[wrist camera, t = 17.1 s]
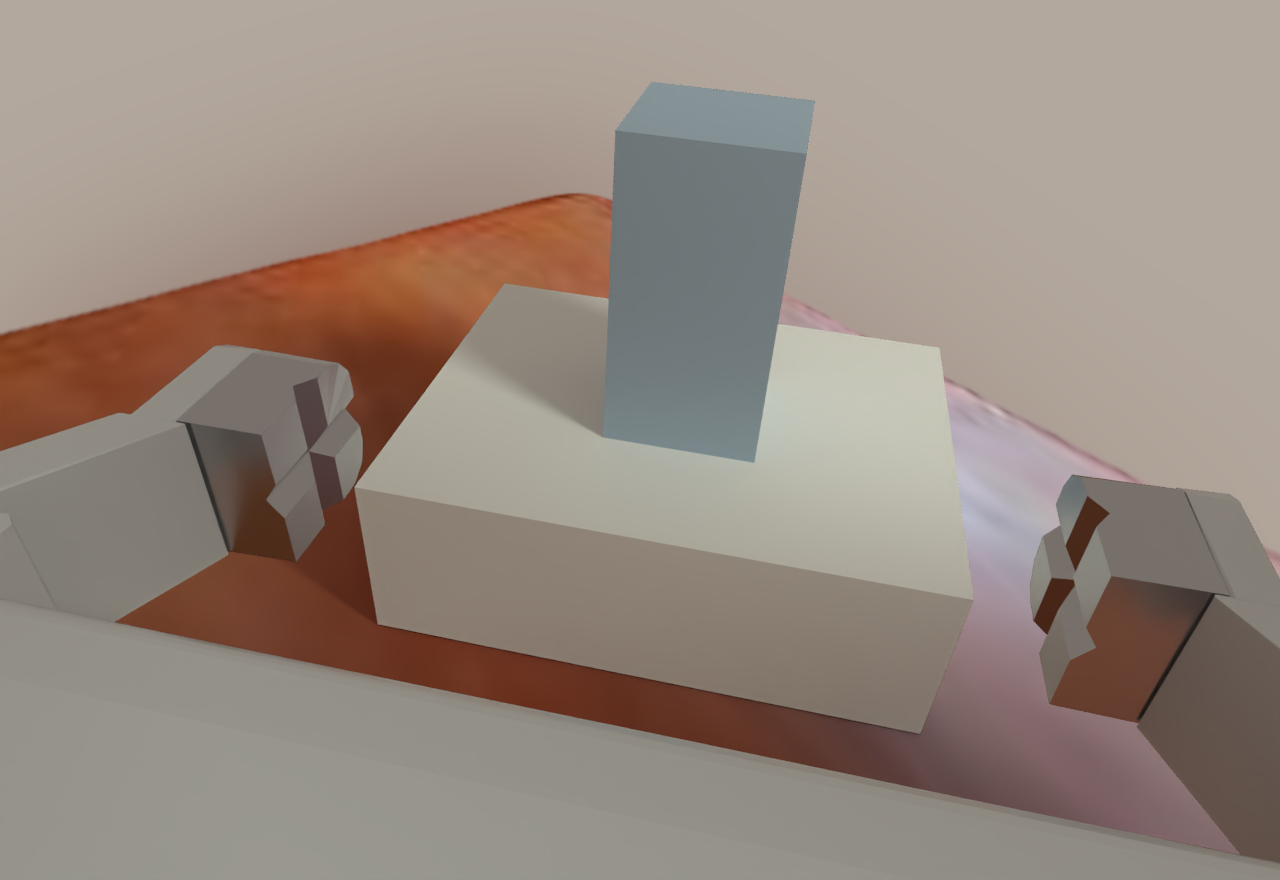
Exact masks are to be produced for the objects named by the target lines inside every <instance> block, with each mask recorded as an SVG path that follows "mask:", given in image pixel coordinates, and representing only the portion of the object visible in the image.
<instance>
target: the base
mask: <svg viewBox="0 0 1280 880" xmlns="http://www.w3.org/2000/svg"><path fill="white" fill-rule="evenodd" d="M608 303H609V299H606V298H599V297H592V296H585V295H578V294H572V293H565V292H558V291H551V290H545V289H538V288H531V287H524V286H517V285H511V284H504V285H503V287H502V288H501V289H500V291H499V292H498V293H497V295H496V296H495V297H494V299H493V300H492V301H491V303H490V304H489V306H488V307H487V308H486V310H485V311H484V312H483V314H482V315H481V316H480V318H479V319H478V320H477V322H476V323H475V324H474V326H473V327H472V329H471V330H470V331H469V333H468V334H467V335H466V337H465V338H464V339H463V341H462V342H461V343H460V345H459V346H458V347H457V349H456V350H455V352H454V353H453V354H452V356H451V357H450V358H449V360H448V361H447V362H446V364H445V365H444V366H443V368H442V369H441V370H440V372H439V373H438V375H437V376H436V377H435V379H434V380H433V381H432V383H431V384H430V385H429V387H428V388H427V389H426V391H425V392H424V393H423V395H422V396H421V398H420V399H419V400H418V402H417V403H416V404H415V406H414V407H413V408H412V410H411V411H410V412H409V414H408V415H407V416H406V418H405V419H404V421H403V422H402V423H401V425H400V426H399V427H398V429H397V430H396V431H395V433H394V434H393V435H392V437H391V438H390V439H389V441H388V442H387V444H386V445H385V446H384V448H383V449H382V450H381V452H380V453H379V454H378V456H377V457H376V458H375V460H374V461H373V462H372V464H371V465H370V466H369V468H368V469H367V471H366V472H365V473H364V475H363V476H362V477H361V479H360V480H359V481H358V483H357V484H356V485H355V487H354V489H355V495H356V500H357V506H358V512H359V518H360V524H361V530H362V535H363V541H364V547H365V553H366V559H367V564H368V570H369V576H370V582H371V588H372V594H373V599H374V605H375V611H376V617H377V623H378V624H379V625H384V626H389V627H394V628H399V629H404V630H409V631H414V632H419V633H424V634H429V635H433V636H438V637H443V638H448V639H453V640H458V641H463V642H468V643H473V644H478V645H483V646H488V647H493V648H498V649H503V650H508V651H513V652H517V653H522V654H527V655H532V656H537V657H542V658H547V659H552V660H557V661H562V662H567V663H572V664H577V665H582V666H587V667H592V668H597V669H601V670H606V671H611V672H616V673H621V674H626V675H631V676H636V677H641V678H646V679H651V680H656V681H661V682H666V683H671V684H676V685H681V686H685V687H690V688H695V689H700V690H705V691H710V692H715V693H720V694H725V695H730V696H735V697H740V698H745V699H750V700H755V701H760V702H765V703H770V704H774V705H779V706H784V707H789V708H794V709H799V710H804V711H809V712H814V713H819V714H824V715H829V716H834V717H839V718H844V719H849V720H854V721H858V722H863V723H868V724H873V725H878V726H883V727H888V728H893V729H898V730H903V731H908V732H913V733H918V734H920V733H921V731H922V728H923V726H924V723H925V721H926V718H927V716H928V713H929V711H930V708H931V706H932V703H933V701H934V698H935V696H936V693H937V691H938V688H939V686H940V683H941V681H942V678H943V676H944V673H945V671H946V668H947V666H948V663H949V661H950V658H951V656H952V653H953V651H954V648H955V646H956V643H957V641H958V638H959V636H960V633H961V631H962V628H963V626H964V623H965V621H966V618H967V616H968V613H969V611H970V608H971V606H972V603H973V601H974V597H973V590H972V583H971V575H970V568H969V561H968V553H967V546H966V539H965V531H964V524H963V517H962V509H961V502H960V495H959V487H958V480H957V473H956V466H955V458H954V451H953V444H952V436H951V429H950V422H949V414H948V407H947V400H946V392H945V385H944V378H943V370H942V363H941V357H940V348H937V347H930V346H924V345H916V344H910V343H903V342H897V341H890V340H882V339H876V338H870V337H863V336H856V335H849V334H843V333H836V332H829V331H822V330H815V329H809V328H802V327H795V326H788V325H782V324H778V326H777V332H776V338H775V344H774V350H773V356H772V362H771V368H770V374H769V379H768V385H767V391H766V397H765V403H764V409H763V415H762V421H761V427H760V433H759V439H758V444H757V450H756V456H755V462H754V463H752V462H747V461H741V460H735V459H729V458H723V457H717V456H711V455H705V454H699V453H693V452H687V451H681V450H675V449H669V448H663V447H657V446H651V445H645V444H639V443H633V442H627V441H621V440H615V439H609V438H603V426H604V401H605V377H606V352H607V327H608Z"/></svg>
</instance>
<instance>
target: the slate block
mask: <svg viewBox="0 0 1280 880" xmlns="http://www.w3.org/2000/svg"><path fill="white" fill-rule="evenodd" d="M814 104H815V101H813V100H804V99H795V98H787V97H777V96H770V95H761V94H752V93H743V92H735V91H725V90H717V89H709V88H700V87H691V86H682V85H674V84H665V83H656V82H651V83H650V85H649V86H648V88H647V89H646V90H645V92H644V93H643V94H642V95H641V97H640V98H639V99H638V101H637V102H636V104H635V105H634V106H633V108H632V109H631V110H630V112H629V113H628V114H627V116H626V117H625V118H624V120H623V121H622V122H621V124H620V125H619V127H618V128H617V129H616V130H615V131H616V132H615V156H614V180H613V204H612V229H611V253H610V278H609V303H608V327H607V352H606V377H605V401H604V426H603V438H609V439H615V440H621V441H627V442H633V443H639V444H645V445H651V446H657V447H663V448H669V449H675V450H681V451H687V452H693V453H699V454H705V455H711V456H717V457H723V458H729V459H735V460H741V461H747V462H752V463H754V462H755V456H756V450H757V444H758V439H759V433H760V427H761V421H762V415H763V409H764V403H765V397H766V391H767V385H768V379H769V374H770V368H771V362H772V356H773V350H774V344H775V338H776V332H777V326H778V320H779V314H780V308H781V303H782V297H783V291H784V285H785V279H786V273H787V267H788V261H789V255H790V249H791V243H792V238H793V231H794V225H795V220H796V213H797V208H798V202H799V196H800V190H801V184H802V178H803V172H804V167H805V160H806V155H807V149H808V142H809V136H810V130H811V123H812V117H813V110H814Z"/></svg>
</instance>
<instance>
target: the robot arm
mask: <svg viewBox="0 0 1280 880" xmlns="http://www.w3.org/2000/svg"><path fill="white" fill-rule="evenodd" d="M353 396H354V393H353V388H352V384H351V380H350V375H349V371H348V370H346V369H345V368H344V367H343V366H342V365H340V364H339V363H335V362H329V361H323V360H317V359H312V358H306V357H300V356H294V355H289V354H283V353H277V352H271V351H261V350H259V349H253V348H246V347H240V346H233V345H221V346H214V347H213V348H211V349H210V350H209V351H208V352H207V353H205V354H204V355H203V356H202V357H200V358H199V359H198V360H197V361H196V362H194V363H193V364H192V365H191V366H190V367H188V368H187V369H186V370H185V371H183V372H182V373H181V374H180V375H179V376H177V377H176V378H175V379H174V380H173V381H171V382H170V383H169V384H168V385H166V386H165V387H164V388H163V389H162V390H160V391H159V392H158V393H157V394H155V395H154V396H153V397H152V398H151V399H149V400H148V401H147V402H146V403H145V404H143V405H142V406H141V407H140V408H138V409H137V410H136V411H135V412H134V413H132V414H124V413H117V414H113V415H110V416H107V417H104V418H101V419H98V420H95V421H92V422H89V423H86V424H83V425H80V426H77V427H74V428H70V429H67V430H64V431H61V432H58V433H55V434H52V435H49V436H46V437H43V438H40V439H37V440H34V441H31V442H27V443H24V444H21V445H18V446H15V447H12V448H9V449H6V450H3V451H0V880H1280V579H1279V577H1278V575H1277V573H1276V571H1275V569H1274V567H1273V565H1272V563H1271V561H1270V559H1269V557H1268V555H1267V553H1266V552H1265V550H1264V548H1263V546H1262V544H1261V542H1260V540H1259V538H1258V536H1257V534H1256V532H1255V530H1254V528H1253V526H1252V525H1251V523H1250V521H1249V519H1248V517H1247V515H1246V513H1245V511H1244V509H1243V507H1242V505H1241V503H1240V502H1239V501H1238V500H1237V499H1236V498H1234V497H1233V496H1231V495H1230V494H1223V493H1215V492H1207V491H1198V490H1190V489H1181V488H1176V489H1173V488H1165V487H1159V486H1151V485H1144V484H1137V483H1129V482H1122V481H1115V480H1108V479H1100V478H1093V477H1086V476H1079V475H1072V476H1071V477H1070V478H1069V480H1068V481H1067V482H1066V484H1065V485H1064V486H1063V489H1062V491H1061V494H1060V496H1059V498H1058V501H1057V503H1056V507H1057V512H1058V516H1059V520H1060V524H1061V525H1060V526H1059V527H1057V528H1055V529H1054V530H1052V531H1051V532H1049V533H1047V534H1046V535H1044V536H1043V537H1042V540H1041V543H1040V546H1039V548H1038V551H1037V554H1036V557H1035V559H1034V565H1033V571H1032V576H1031V582H1030V603H1031V609H1032V615H1033V621H1034V622H1035V623H1036V624H1037V625H1038V626H1039V627H1040V628H1041V629H1042V630H1043V631H1044V632H1045V633H1046V634H1047V637H1046V639H1045V642H1044V644H1043V646H1042V648H1041V651H1040V653H1039V654H1040V659H1041V664H1042V669H1043V674H1044V680H1045V685H1046V690H1047V695H1048V700H1049V704H1051V705H1056V706H1061V707H1065V708H1070V709H1075V710H1079V711H1084V712H1089V713H1093V714H1098V715H1103V716H1107V717H1112V718H1117V719H1121V720H1126V721H1131V722H1135V723H1139V724H1138V725H1137V727H1138V729H1139V730H1140V731H1141V732H1142V734H1143V735H1144V736H1145V737H1146V738H1147V740H1148V741H1149V742H1150V743H1151V745H1152V746H1153V747H1154V748H1155V750H1156V751H1157V752H1158V753H1159V754H1160V756H1161V757H1162V758H1163V759H1164V761H1165V762H1166V763H1167V764H1168V766H1169V767H1170V768H1171V769H1172V770H1173V772H1174V773H1175V774H1176V775H1177V777H1178V778H1179V779H1180V780H1181V782H1182V783H1183V784H1184V785H1185V786H1186V788H1187V789H1188V790H1189V791H1190V793H1191V794H1192V795H1193V796H1194V798H1195V799H1196V800H1197V801H1198V802H1199V804H1200V805H1201V806H1202V807H1203V809H1204V810H1205V811H1206V812H1207V814H1208V815H1209V816H1210V817H1211V818H1212V820H1213V821H1214V822H1215V823H1216V825H1217V826H1218V827H1219V828H1220V830H1221V831H1222V832H1223V833H1224V834H1225V836H1226V837H1227V838H1228V839H1229V841H1230V842H1231V843H1232V844H1233V845H1234V847H1235V848H1236V849H1237V850H1238V852H1239V853H1240V854H1241V855H1239V854H1234V853H1229V852H1224V851H1219V850H1214V849H1210V848H1205V847H1200V846H1195V845H1190V844H1185V843H1180V842H1176V841H1171V840H1166V839H1161V838H1156V837H1151V836H1146V835H1141V834H1137V833H1132V832H1127V831H1122V830H1117V829H1112V828H1107V827H1102V826H1097V825H1093V824H1088V823H1083V822H1078V821H1073V820H1068V819H1063V818H1058V817H1053V816H1048V815H1044V814H1039V813H1034V812H1029V811H1024V810H1019V809H1014V808H1009V807H1004V806H999V805H995V804H990V803H985V802H980V801H975V800H970V799H965V798H961V797H956V796H951V795H946V794H941V793H937V792H932V791H927V790H922V789H917V788H913V787H908V786H903V785H898V784H894V783H889V782H884V781H879V780H874V779H870V778H865V777H860V776H855V775H850V774H846V773H841V772H836V771H831V770H826V769H822V768H817V767H812V766H807V765H802V764H798V763H793V762H788V761H783V760H778V759H774V758H769V757H764V756H759V755H754V754H750V753H745V752H740V751H735V750H730V749H726V748H721V747H716V746H711V745H707V744H702V743H697V742H692V741H687V740H683V739H678V738H673V737H668V736H663V735H658V734H653V733H649V732H644V731H639V730H634V729H629V728H624V727H619V726H615V725H610V724H605V723H600V722H595V721H590V720H585V719H581V718H576V717H571V716H566V715H561V714H556V713H551V712H547V711H542V710H537V709H532V708H527V707H522V706H517V705H513V704H508V703H503V702H498V701H493V700H488V699H483V698H479V697H474V696H469V695H464V694H459V693H454V692H449V691H445V690H440V689H435V688H430V687H425V686H420V685H415V684H411V683H406V682H401V681H396V680H391V679H386V678H381V677H377V676H372V675H367V674H362V673H357V672H352V671H348V670H343V669H338V668H333V667H328V666H323V665H319V664H314V663H309V662H304V661H299V660H294V659H289V658H285V657H280V656H275V655H270V654H265V653H260V652H256V651H251V650H246V649H241V648H236V647H231V646H227V645H222V644H217V643H212V642H207V641H202V640H197V639H193V638H188V637H183V636H178V635H173V634H168V633H164V632H159V631H154V630H149V629H144V628H139V627H135V626H130V625H125V624H120V623H115V621H117V620H118V619H120V618H122V617H124V616H125V615H127V614H129V613H130V612H132V611H134V610H135V609H137V608H139V607H141V606H142V605H144V604H146V603H147V602H149V601H151V600H152V599H154V598H156V597H158V596H159V595H161V594H163V593H164V592H166V591H168V590H169V589H171V588H173V587H175V586H176V585H178V584H180V583H181V582H183V581H185V580H186V579H188V578H190V577H192V576H193V575H195V574H197V573H198V572H200V571H202V570H203V569H205V568H207V567H209V566H210V565H212V564H214V563H215V562H217V561H219V560H220V559H222V558H224V557H225V556H227V555H228V551H230V552H236V553H243V554H249V555H255V556H262V557H268V558H274V559H280V560H287V561H293V562H297V560H298V559H299V558H300V556H301V555H302V554H303V552H304V551H305V550H306V549H307V547H308V546H309V545H310V543H311V542H312V541H313V539H314V538H315V537H316V535H317V534H318V533H319V532H320V530H321V529H322V528H323V526H324V525H325V521H324V516H323V511H322V510H323V509H325V508H327V507H329V506H332V505H334V504H336V503H338V502H340V501H342V500H344V498H345V497H346V496H347V494H348V493H349V491H350V490H351V489H352V487H353V486H354V484H355V482H356V479H357V476H358V473H359V470H360V467H361V464H362V454H363V441H362V435H361V429H360V425H359V424H358V423H357V422H356V421H355V420H354V418H353V417H352V416H351V415H350V414H349V413H348V411H347V410H346V409H345V408H346V407H347V405H348V404H349V402H350V401H351V399H352V398H353Z"/></svg>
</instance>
